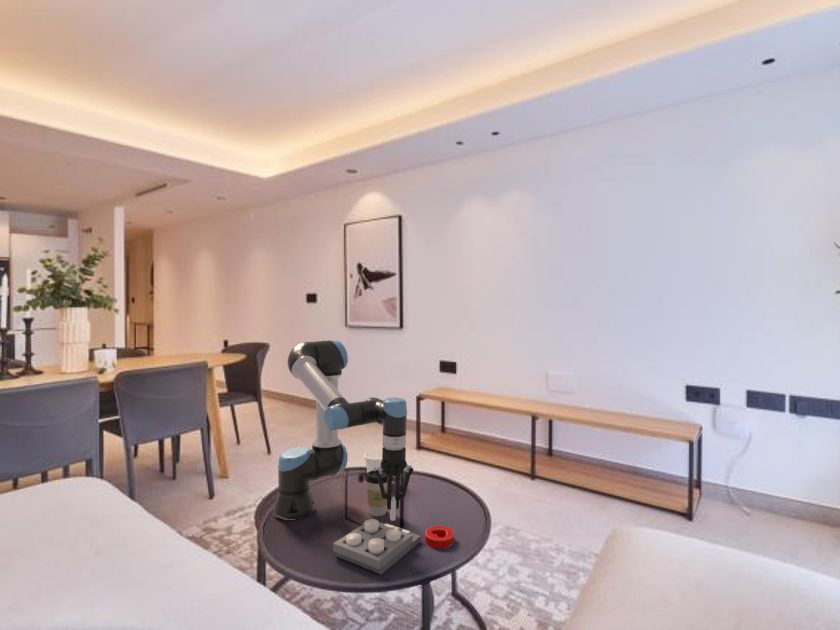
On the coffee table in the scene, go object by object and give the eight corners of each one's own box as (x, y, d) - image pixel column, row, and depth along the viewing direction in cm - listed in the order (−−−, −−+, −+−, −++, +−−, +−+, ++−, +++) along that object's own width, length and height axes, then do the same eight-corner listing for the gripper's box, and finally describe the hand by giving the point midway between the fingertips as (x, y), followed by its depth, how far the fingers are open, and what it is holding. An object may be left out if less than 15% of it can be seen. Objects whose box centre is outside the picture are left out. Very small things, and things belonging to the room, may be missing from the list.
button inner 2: (361, 532, 152) (361, 523, 152) (370, 526, 156) (370, 517, 156) (372, 536, 150) (372, 527, 149) (381, 530, 154) (381, 521, 154)
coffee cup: (386, 519, 169) (387, 479, 169) (361, 517, 171) (361, 477, 170) (393, 508, 179) (393, 470, 178) (369, 505, 181) (369, 468, 180)
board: (333, 557, 144) (333, 543, 144) (378, 527, 163) (378, 514, 163) (378, 576, 134) (379, 561, 134) (420, 541, 154) (420, 528, 154)
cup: (380, 490, 196) (380, 461, 195) (358, 483, 202) (358, 456, 201) (395, 480, 206) (395, 453, 205) (374, 475, 212) (374, 448, 212)
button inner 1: (342, 547, 145) (342, 538, 144) (352, 540, 149) (352, 531, 149) (354, 552, 142) (354, 542, 142) (364, 545, 146) (364, 535, 146)
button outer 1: (365, 553, 140) (365, 543, 140) (374, 546, 144) (374, 536, 144) (377, 557, 137) (377, 548, 137) (387, 550, 141) (387, 541, 141)
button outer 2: (382, 543, 147) (383, 534, 147) (391, 536, 151) (391, 527, 151) (395, 547, 145) (395, 538, 145) (403, 540, 149) (403, 531, 149)
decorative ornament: (457, 538, 157) (457, 528, 157) (448, 552, 148) (448, 542, 148) (431, 532, 161) (431, 523, 161) (420, 545, 152) (420, 536, 152)
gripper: (375, 451, 142) (373, 526, 143) (416, 449, 145) (414, 522, 146) (372, 443, 149) (371, 514, 150) (411, 442, 152) (409, 511, 153)
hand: (392, 518), depth 148 cm, fingers closed
